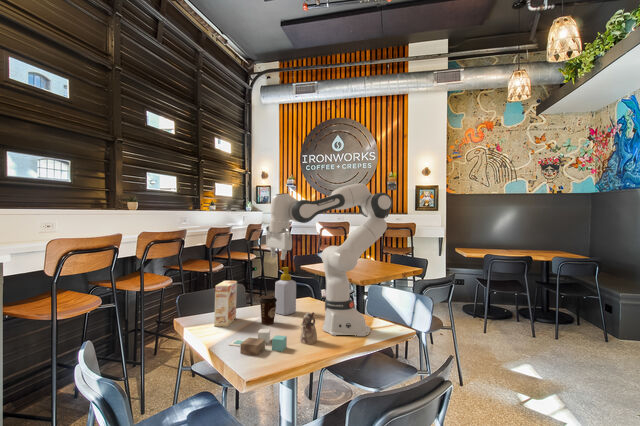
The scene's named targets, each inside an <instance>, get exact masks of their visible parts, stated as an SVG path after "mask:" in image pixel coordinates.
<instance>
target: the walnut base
mask: <svg viewBox="0 0 640 426" xmlns="http://www.w3.org/2000/svg"><path fill="white" fill-rule="evenodd" d="M244 340H245V341H244V342H242V343H241V347H240V354H242V355H247V356H249V355H251V356H259V355H260V354H261V353H262V352H263V351H265V349H266V343H265V339H258V337H257V338H255V337H248V338H247V339H244Z"/></svg>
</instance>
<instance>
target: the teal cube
mask: <svg viewBox="0 0 640 426" xmlns="http://www.w3.org/2000/svg"><path fill="white" fill-rule="evenodd" d="M287 340H288V339H287V335H279V334H278V335H277V334H276V335H274V336H273V337H272V338H271V351H275V352H284V351H285V350H286V349H287V346H288V345H287Z"/></svg>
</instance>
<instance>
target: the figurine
mask: <svg viewBox="0 0 640 426" xmlns="http://www.w3.org/2000/svg"><path fill="white" fill-rule="evenodd" d="M315 314H316V313H315V312H313V311H312V312H311V313H310V312H307V313H305V314H304V315H303V319H302V323H300V325H301V327H302V328H301V333H300V337H299V339H300V340H299V343H301V344H303V345H315V344H316V343H317V340H318V335H317V334H318V332H317V328H316V326H315V325H316V318H315V317H314V315H315Z"/></svg>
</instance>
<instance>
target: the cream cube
mask: <svg viewBox="0 0 640 426" xmlns="http://www.w3.org/2000/svg"><path fill="white" fill-rule="evenodd" d="M257 338H258V339H265V344H269V343H270V340H271V329H270V328H260V329H259V330H258V332H257Z"/></svg>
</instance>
